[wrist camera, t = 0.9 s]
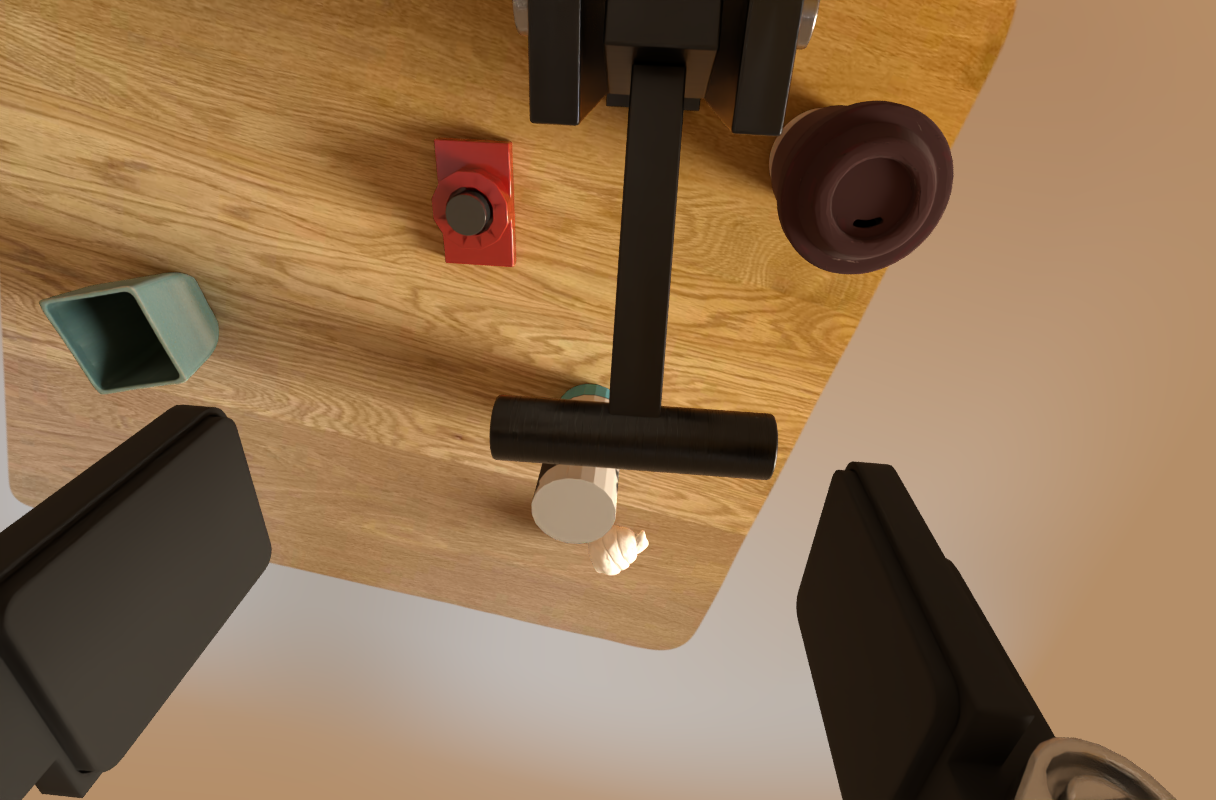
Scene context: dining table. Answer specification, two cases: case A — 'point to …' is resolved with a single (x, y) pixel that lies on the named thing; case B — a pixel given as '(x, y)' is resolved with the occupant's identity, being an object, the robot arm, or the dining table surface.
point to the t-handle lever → (644, 278)
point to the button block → (492, 177)
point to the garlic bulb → (616, 549)
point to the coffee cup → (860, 184)
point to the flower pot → (136, 330)
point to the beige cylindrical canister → (576, 491)
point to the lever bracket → (738, 93)
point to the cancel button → (467, 212)
